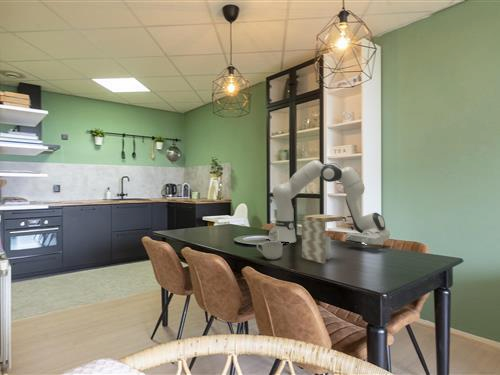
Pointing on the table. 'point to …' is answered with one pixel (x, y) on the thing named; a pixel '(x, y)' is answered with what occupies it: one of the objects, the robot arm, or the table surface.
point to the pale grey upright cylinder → (327, 247)
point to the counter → (315, 236)
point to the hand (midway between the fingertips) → (354, 239)
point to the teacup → (271, 249)
